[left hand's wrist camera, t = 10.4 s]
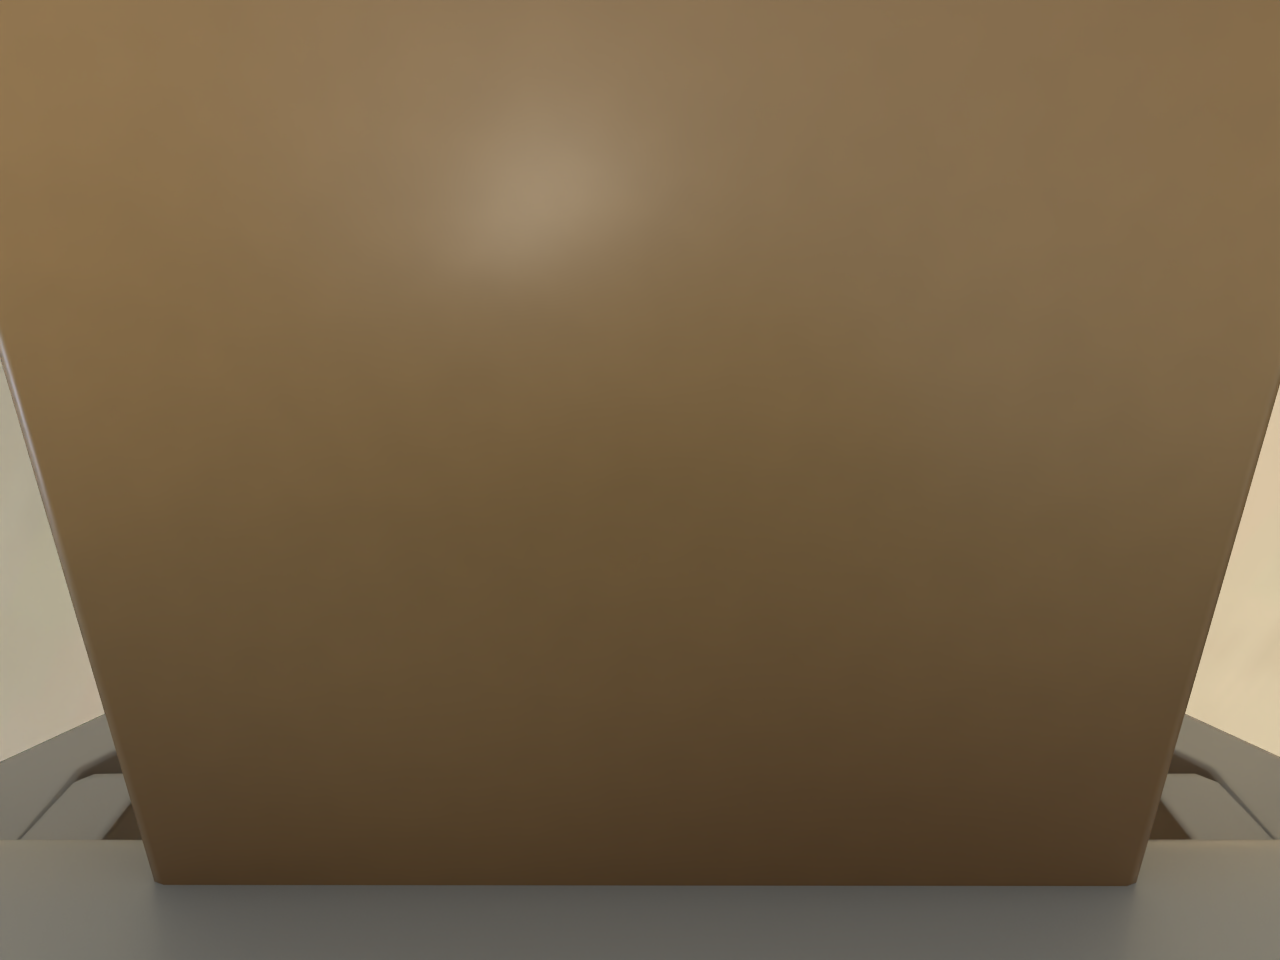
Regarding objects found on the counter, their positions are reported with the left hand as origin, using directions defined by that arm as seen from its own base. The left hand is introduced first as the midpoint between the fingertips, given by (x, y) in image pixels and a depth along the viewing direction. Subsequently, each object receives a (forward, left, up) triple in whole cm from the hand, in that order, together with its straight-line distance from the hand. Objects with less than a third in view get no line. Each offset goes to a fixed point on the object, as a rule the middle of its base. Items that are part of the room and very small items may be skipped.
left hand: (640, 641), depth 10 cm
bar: (+6, -5, -4) cm, 9 cm away
